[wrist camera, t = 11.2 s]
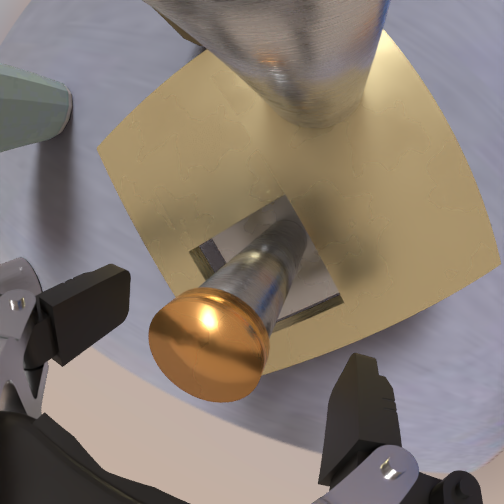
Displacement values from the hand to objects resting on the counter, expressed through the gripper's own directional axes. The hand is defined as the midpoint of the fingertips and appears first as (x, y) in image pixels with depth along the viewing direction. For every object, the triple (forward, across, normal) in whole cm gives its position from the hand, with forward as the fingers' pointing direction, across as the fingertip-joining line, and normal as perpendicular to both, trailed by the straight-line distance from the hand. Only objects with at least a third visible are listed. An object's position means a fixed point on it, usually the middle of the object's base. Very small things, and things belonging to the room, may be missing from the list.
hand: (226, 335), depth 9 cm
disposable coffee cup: (+13, +28, -7) cm, 32 cm away
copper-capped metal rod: (+12, 0, 0) cm, 12 cm away
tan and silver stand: (+13, 0, -5) cm, 14 cm away
